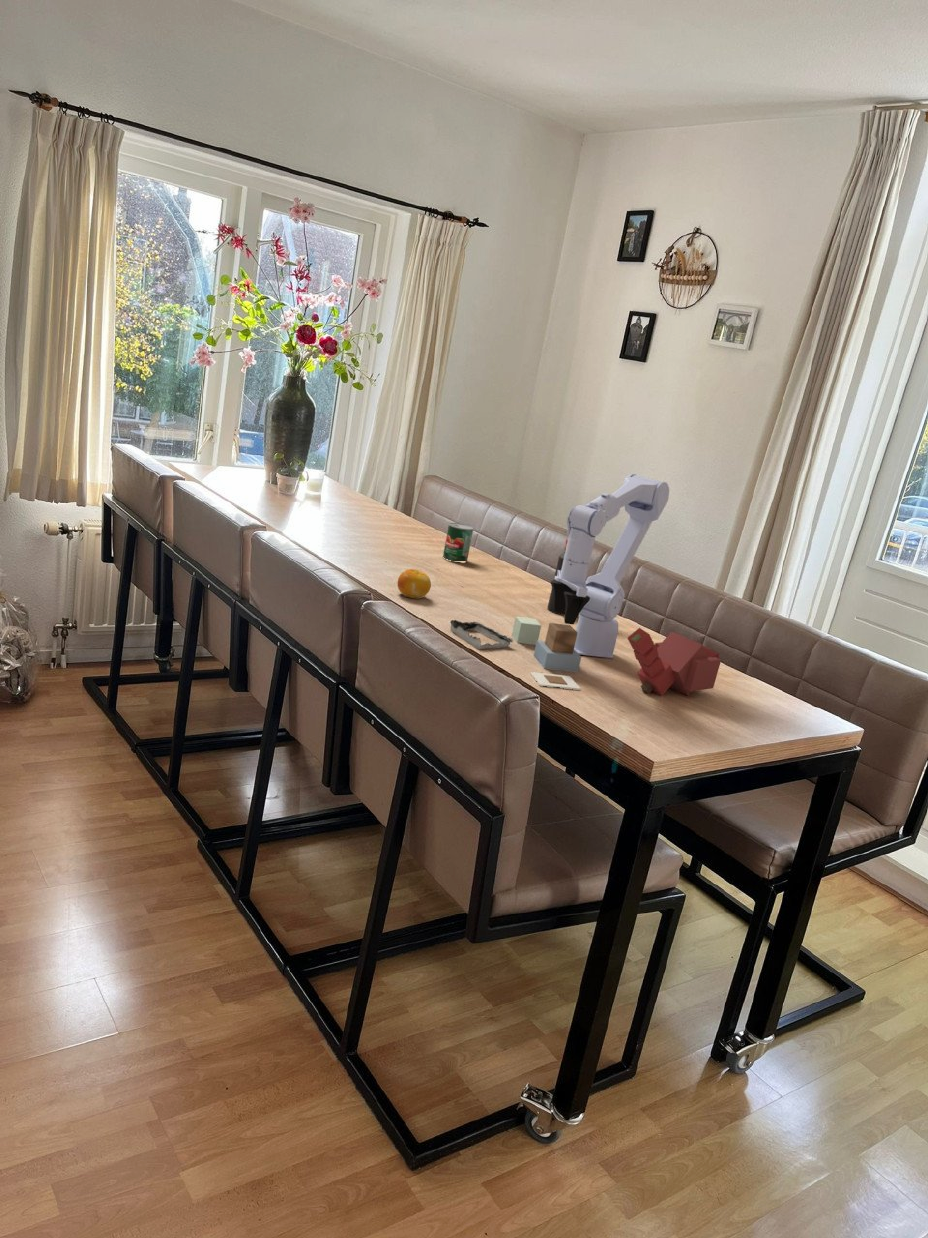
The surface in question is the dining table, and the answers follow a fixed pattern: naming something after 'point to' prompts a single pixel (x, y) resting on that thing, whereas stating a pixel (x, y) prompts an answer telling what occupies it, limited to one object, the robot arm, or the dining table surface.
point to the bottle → (559, 567)
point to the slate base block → (556, 658)
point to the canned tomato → (458, 542)
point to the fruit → (414, 583)
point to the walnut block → (561, 638)
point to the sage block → (526, 630)
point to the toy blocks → (674, 663)
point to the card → (555, 681)
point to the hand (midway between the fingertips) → (563, 618)
